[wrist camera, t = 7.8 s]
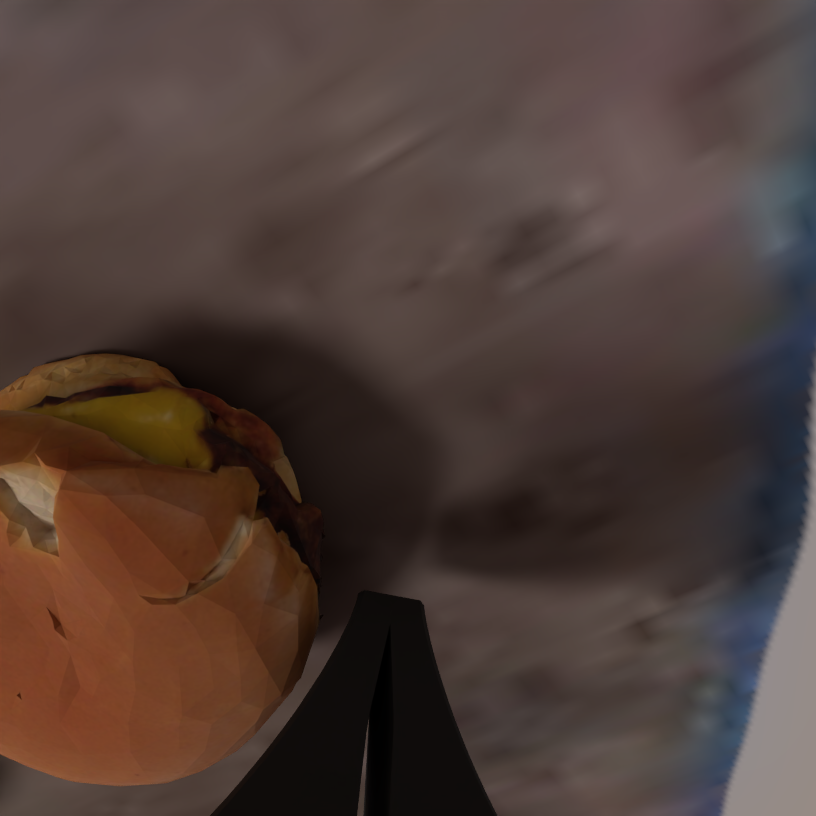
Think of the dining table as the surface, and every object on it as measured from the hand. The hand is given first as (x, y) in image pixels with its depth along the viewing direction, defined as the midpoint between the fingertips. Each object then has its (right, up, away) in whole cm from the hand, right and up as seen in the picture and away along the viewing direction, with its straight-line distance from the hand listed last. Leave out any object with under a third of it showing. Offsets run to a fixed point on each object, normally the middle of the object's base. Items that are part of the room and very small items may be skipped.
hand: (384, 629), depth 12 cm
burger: (-6, +2, +2) cm, 7 cm away
